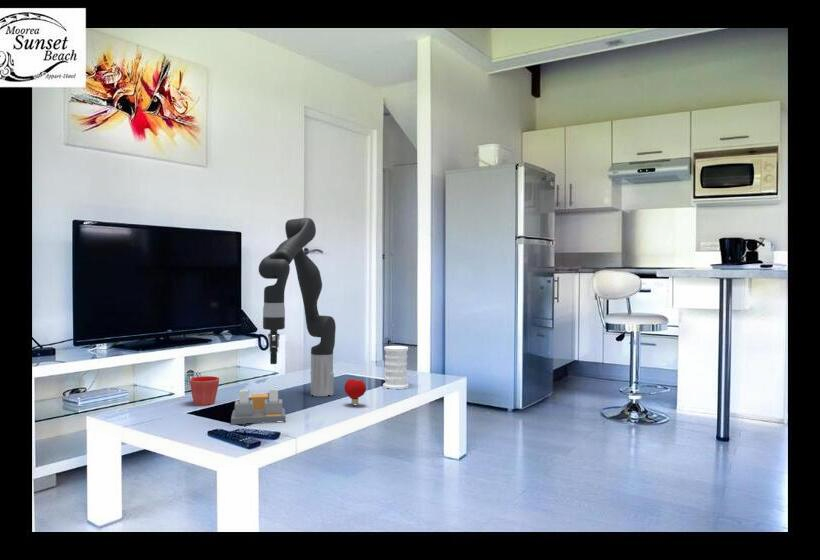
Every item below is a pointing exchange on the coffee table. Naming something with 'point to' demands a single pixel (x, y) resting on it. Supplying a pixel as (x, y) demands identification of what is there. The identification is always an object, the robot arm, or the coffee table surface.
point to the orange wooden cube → (259, 400)
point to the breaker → (244, 396)
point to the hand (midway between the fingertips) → (273, 362)
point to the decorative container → (396, 367)
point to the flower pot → (204, 389)
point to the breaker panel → (258, 413)
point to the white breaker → (273, 395)
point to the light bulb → (355, 389)
